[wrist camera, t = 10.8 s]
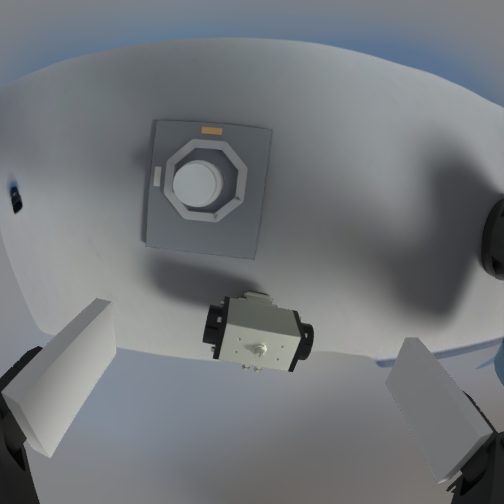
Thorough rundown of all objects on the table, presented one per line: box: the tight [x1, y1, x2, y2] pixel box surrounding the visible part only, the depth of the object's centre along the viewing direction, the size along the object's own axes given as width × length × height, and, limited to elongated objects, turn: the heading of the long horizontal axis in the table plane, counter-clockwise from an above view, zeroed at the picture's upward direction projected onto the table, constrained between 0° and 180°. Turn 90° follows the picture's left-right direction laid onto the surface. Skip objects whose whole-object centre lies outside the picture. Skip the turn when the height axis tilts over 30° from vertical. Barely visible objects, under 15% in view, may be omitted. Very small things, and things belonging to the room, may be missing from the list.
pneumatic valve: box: [202, 291, 314, 372], centre depth 33 cm, size 6×12×12 cm, turn 76°
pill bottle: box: [173, 160, 226, 207], centre depth 29 cm, size 5×5×8 cm
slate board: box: [146, 120, 272, 260], centre depth 33 cm, size 14×16×2 cm
